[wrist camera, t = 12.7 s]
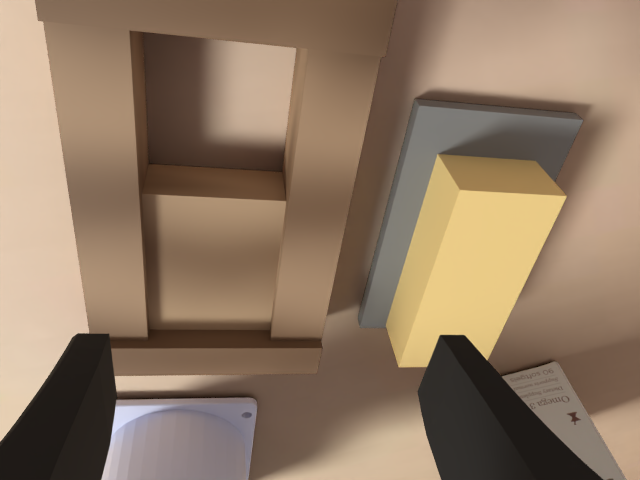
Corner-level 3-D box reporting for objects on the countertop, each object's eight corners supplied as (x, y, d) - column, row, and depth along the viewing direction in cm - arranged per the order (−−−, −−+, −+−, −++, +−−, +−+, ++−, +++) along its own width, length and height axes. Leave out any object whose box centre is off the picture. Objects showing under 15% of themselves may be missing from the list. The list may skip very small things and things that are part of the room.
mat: (482, 319, 27) (486, 328, 27) (357, 318, 26) (360, 328, 26) (575, 113, 21) (583, 120, 20) (414, 98, 20) (419, 105, 19)
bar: (465, 325, 26) (484, 366, 24) (385, 325, 26) (398, 367, 24) (535, 160, 21) (567, 196, 19) (437, 154, 20) (459, 190, 18)
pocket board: (308, 322, 26) (316, 373, 23) (106, 321, 24) (93, 376, 22) (374, -29, 17) (398, -4, 14) (58, -72, 15) (27, -51, 13)
